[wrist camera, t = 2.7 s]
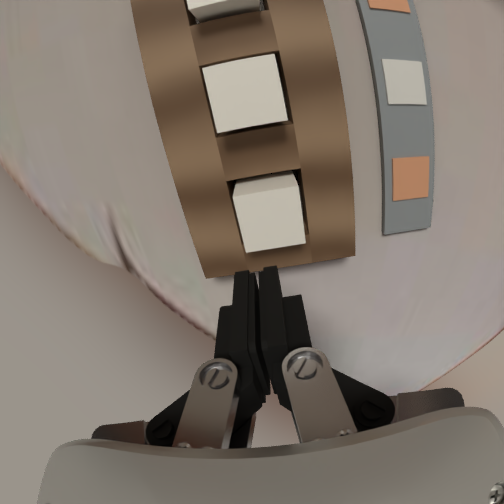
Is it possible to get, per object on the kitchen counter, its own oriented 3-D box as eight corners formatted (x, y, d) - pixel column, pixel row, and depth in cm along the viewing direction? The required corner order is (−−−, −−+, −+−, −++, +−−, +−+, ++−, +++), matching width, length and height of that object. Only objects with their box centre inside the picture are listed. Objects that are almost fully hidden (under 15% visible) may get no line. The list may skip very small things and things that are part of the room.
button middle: (282, 116, 17) (287, 120, 14) (224, 126, 18) (217, 133, 15) (271, 61, 15) (274, 53, 12) (212, 72, 16) (202, 68, 13)
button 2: (299, 220, 21) (305, 243, 19) (247, 228, 22) (245, 252, 19) (291, 170, 19) (298, 185, 16) (236, 180, 20) (232, 197, 17)
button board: (345, 237, 24) (355, 255, 21) (211, 258, 25) (205, 278, 23) (293, -56, 11) (297, -72, 8) (140, -23, 12) (125, -34, 9)
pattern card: (427, 224, 23) (431, 228, 22) (381, 231, 23) (385, 235, 23) (392, -47, 10) (395, -50, 9) (336, -55, 10) (339, -59, 10)
